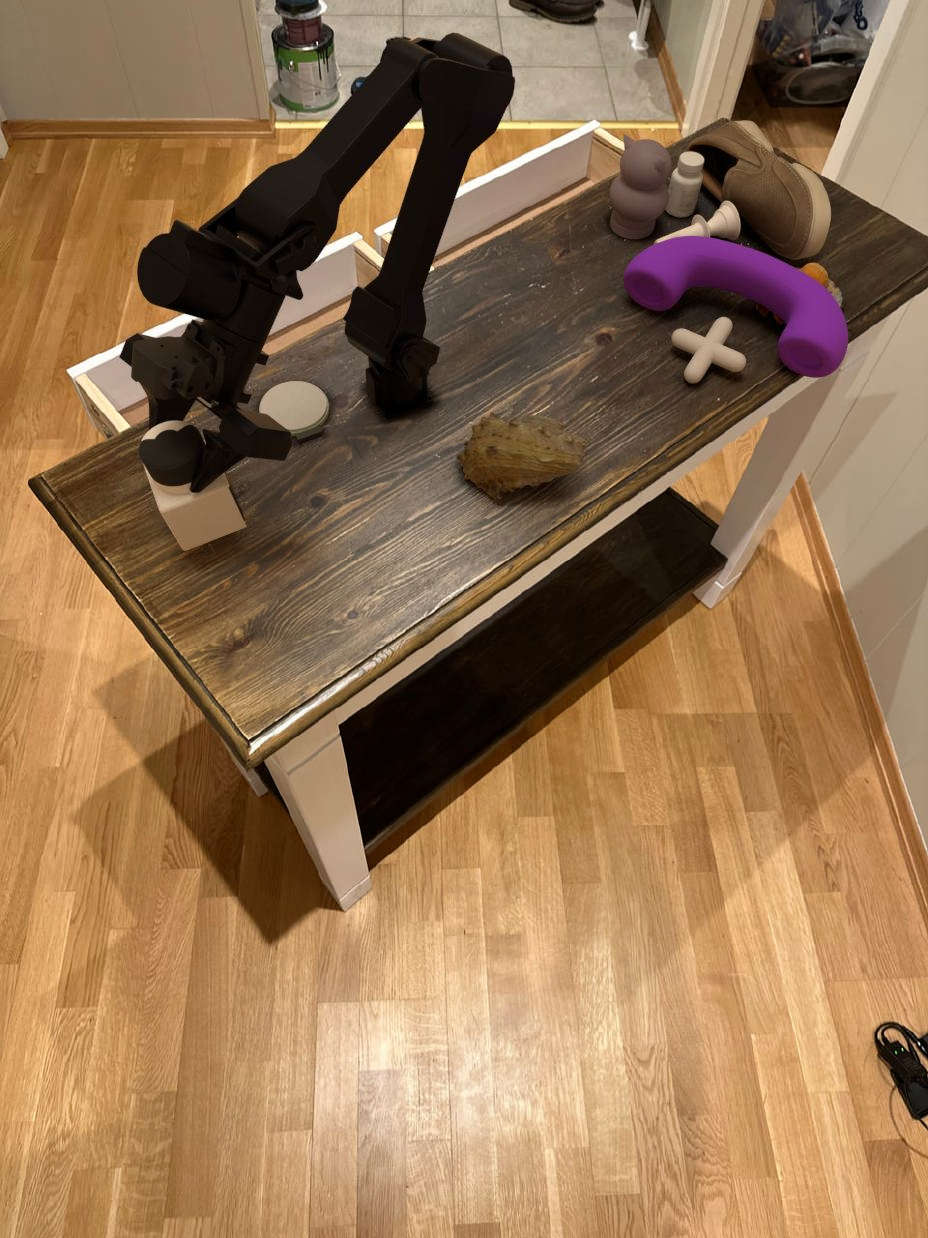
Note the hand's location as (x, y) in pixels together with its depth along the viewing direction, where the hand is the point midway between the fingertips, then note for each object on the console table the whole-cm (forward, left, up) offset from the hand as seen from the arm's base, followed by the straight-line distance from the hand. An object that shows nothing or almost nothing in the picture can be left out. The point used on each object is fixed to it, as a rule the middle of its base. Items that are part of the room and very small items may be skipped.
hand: (173, 474), depth 85 cm
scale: (-17, -14, -12) cm, 25 cm away
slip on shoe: (-93, -17, -6) cm, 94 cm away
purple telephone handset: (-73, -9, 0) cm, 74 cm away
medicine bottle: (-2, 0, -8) cm, 8 cm away
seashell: (-36, +7, -12) cm, 39 cm away
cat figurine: (-74, -25, -12) cm, 79 cm away
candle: (-84, -17, -9) cm, 86 cm away
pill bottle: (-82, -26, -12) cm, 87 cm away
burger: (-84, -2, -12) cm, 85 cm away
